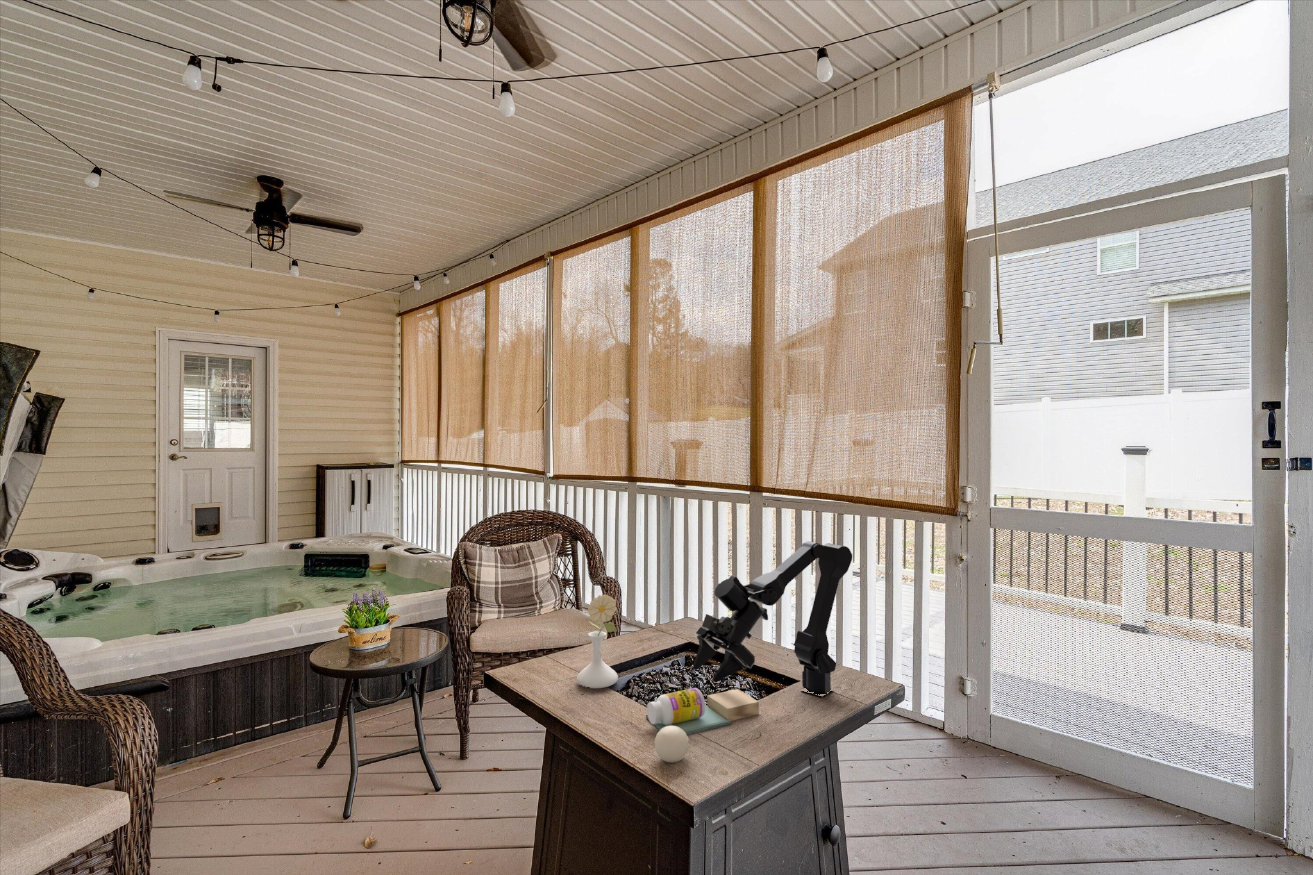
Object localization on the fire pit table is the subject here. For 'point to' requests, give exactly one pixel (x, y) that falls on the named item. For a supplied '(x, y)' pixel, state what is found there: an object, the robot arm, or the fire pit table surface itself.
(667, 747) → the cream white ball
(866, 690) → the fire pit table surface
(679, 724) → the tray
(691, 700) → the supplement bottle
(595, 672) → the flower in vase
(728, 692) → the block
